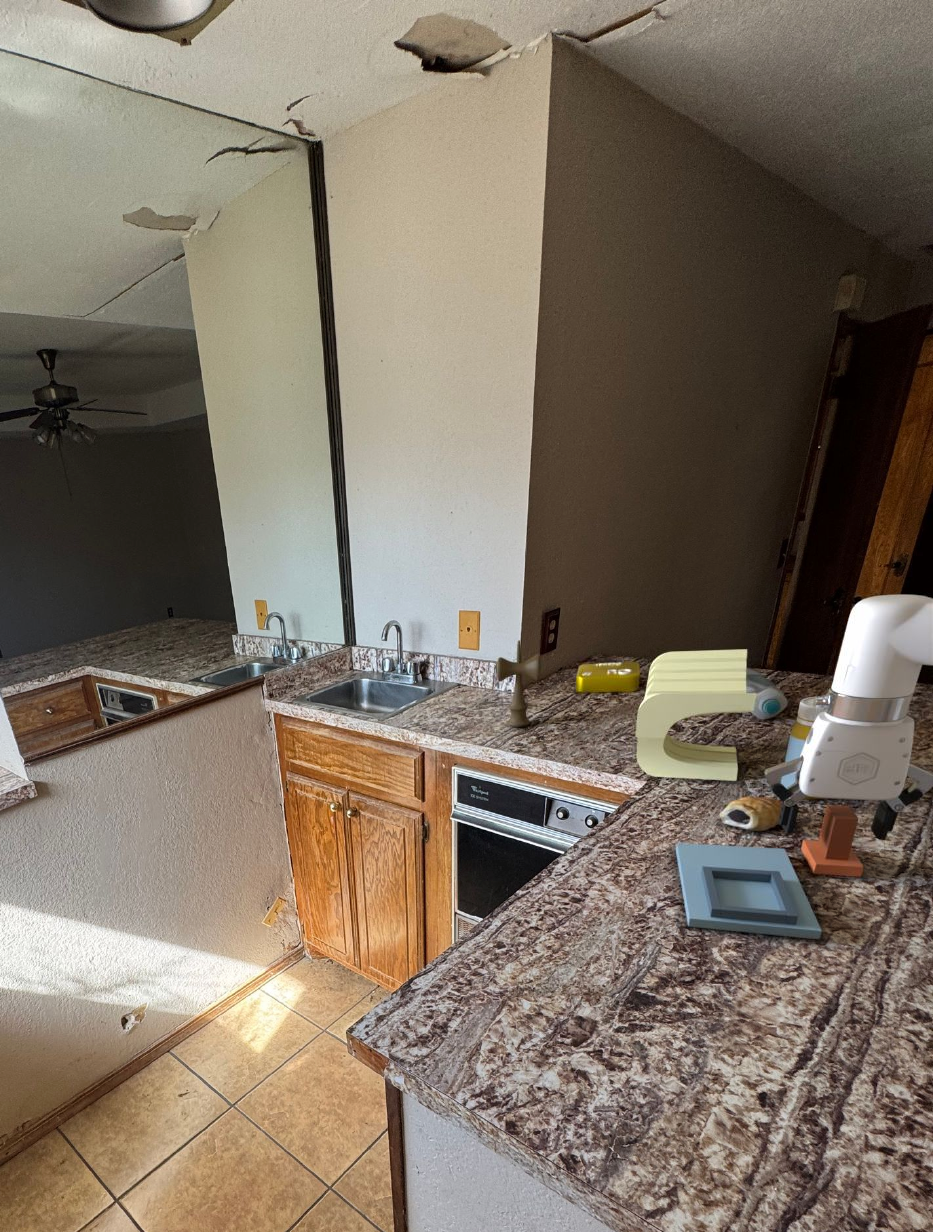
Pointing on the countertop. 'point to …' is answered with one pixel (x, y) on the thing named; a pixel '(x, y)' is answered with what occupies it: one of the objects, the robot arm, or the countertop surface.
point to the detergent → (764, 695)
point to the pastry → (752, 813)
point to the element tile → (608, 677)
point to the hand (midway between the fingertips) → (831, 832)
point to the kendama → (519, 684)
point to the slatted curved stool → (690, 712)
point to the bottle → (800, 736)
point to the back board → (744, 891)
